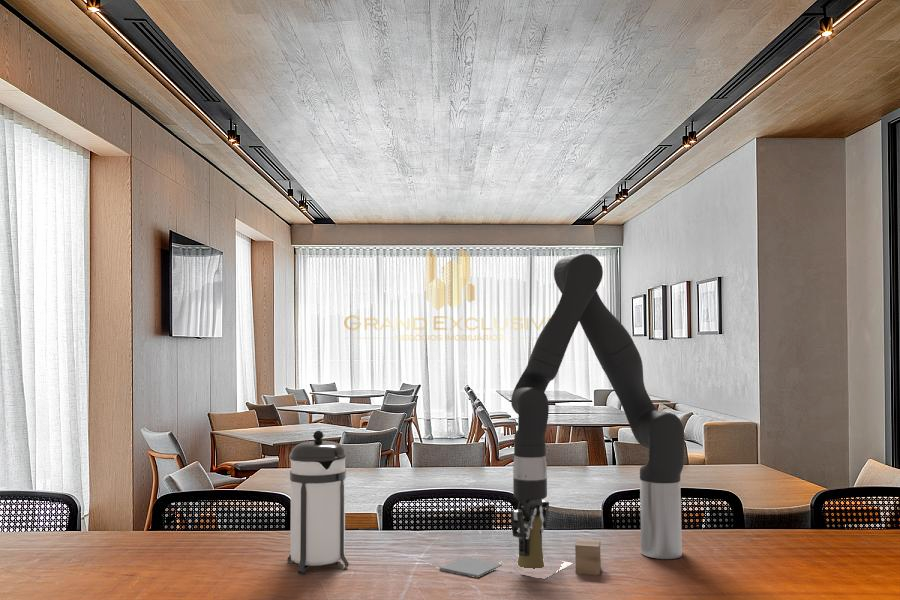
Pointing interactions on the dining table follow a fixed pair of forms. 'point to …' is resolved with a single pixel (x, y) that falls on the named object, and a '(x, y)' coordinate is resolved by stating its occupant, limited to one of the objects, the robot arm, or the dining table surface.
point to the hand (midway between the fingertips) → (530, 552)
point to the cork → (533, 547)
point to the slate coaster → (470, 566)
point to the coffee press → (317, 504)
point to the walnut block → (587, 556)
